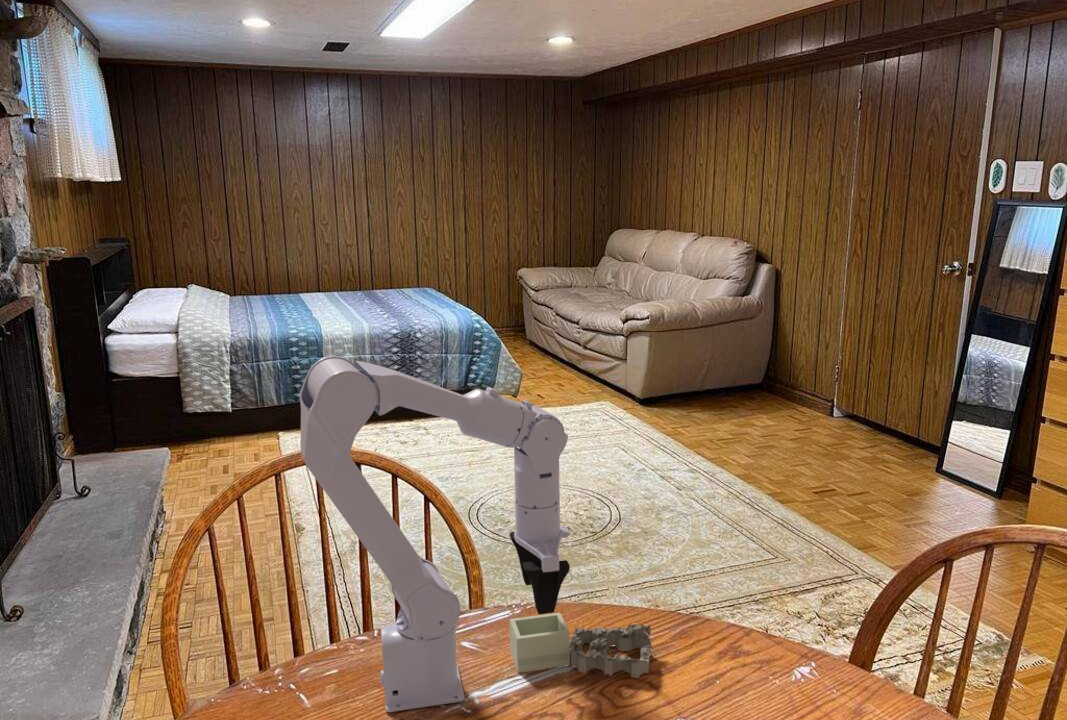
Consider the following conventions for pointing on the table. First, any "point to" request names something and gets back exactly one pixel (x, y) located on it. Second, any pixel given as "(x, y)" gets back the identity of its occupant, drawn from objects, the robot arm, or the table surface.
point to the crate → (539, 642)
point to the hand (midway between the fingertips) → (538, 597)
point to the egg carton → (605, 637)
